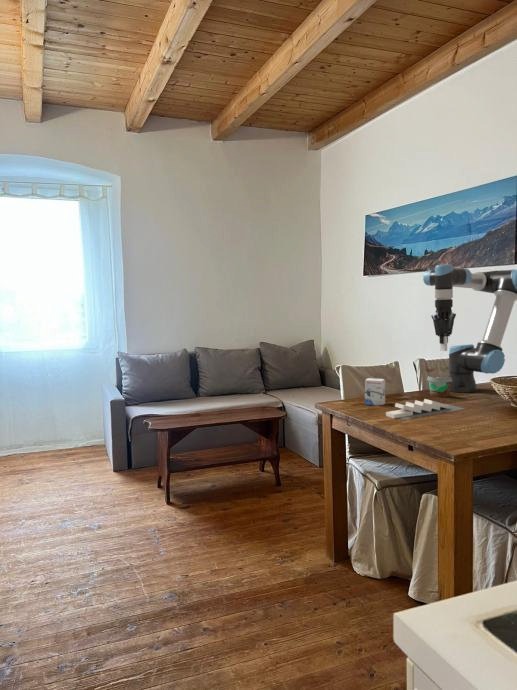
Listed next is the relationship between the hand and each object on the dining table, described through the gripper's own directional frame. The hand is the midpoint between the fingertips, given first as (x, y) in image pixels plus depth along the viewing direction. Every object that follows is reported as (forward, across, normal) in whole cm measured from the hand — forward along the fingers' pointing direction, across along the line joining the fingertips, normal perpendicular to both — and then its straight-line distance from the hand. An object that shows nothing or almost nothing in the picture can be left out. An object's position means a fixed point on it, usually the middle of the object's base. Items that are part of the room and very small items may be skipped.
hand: (443, 350), depth 239 cm
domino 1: (+23, +29, +10) cm, 38 cm away
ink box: (+24, +28, -14) cm, 40 cm away
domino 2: (+22, +25, +10) cm, 35 cm away
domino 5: (+23, +9, +10) cm, 26 cm away
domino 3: (+23, +19, +10) cm, 31 cm away
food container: (+24, -6, -10) cm, 27 cm away
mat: (+24, +20, +10) cm, 33 cm away
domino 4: (+23, +14, +10) cm, 29 cm away
